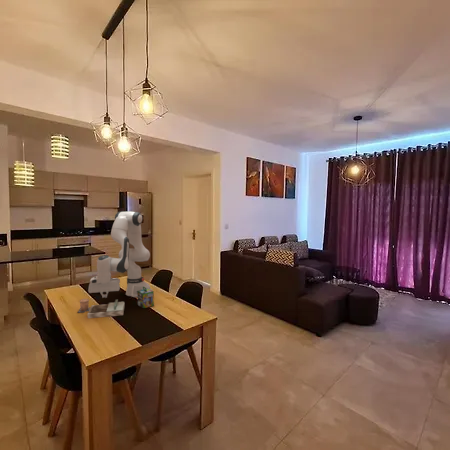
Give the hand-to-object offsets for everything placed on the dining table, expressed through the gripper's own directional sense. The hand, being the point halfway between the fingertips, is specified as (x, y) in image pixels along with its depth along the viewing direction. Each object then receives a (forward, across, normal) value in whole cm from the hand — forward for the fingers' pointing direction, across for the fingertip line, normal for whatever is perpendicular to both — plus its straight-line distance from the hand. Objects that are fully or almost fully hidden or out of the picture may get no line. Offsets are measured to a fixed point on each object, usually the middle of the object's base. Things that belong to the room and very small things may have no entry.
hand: (104, 297), depth 189 cm
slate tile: (+10, +14, -4) cm, 18 cm away
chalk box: (+11, -28, -4) cm, 30 cm away
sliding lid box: (+10, -2, +4) cm, 11 cm away
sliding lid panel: (+6, -8, +4) cm, 11 cm away
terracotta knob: (+10, +14, -4) cm, 17 cm away
